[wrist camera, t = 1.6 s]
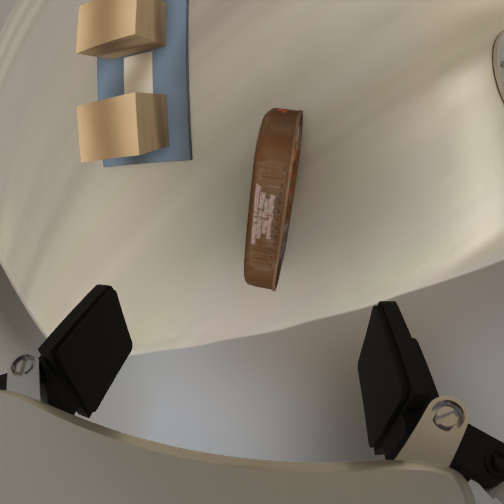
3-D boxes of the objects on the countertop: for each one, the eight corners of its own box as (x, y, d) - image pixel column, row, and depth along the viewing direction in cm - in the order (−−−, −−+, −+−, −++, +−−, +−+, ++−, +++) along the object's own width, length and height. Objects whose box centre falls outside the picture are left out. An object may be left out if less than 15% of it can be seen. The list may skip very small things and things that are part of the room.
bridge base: (188, -11, 19) (162, -37, 13) (192, 159, 27) (164, 172, 21) (102, 13, 20) (65, 1, 15) (106, 166, 28) (68, 181, 22)
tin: (282, 262, 31) (277, 313, 23) (252, 258, 31) (238, 306, 23) (305, 112, 24) (310, 109, 16) (269, 107, 24) (258, 103, 17)
